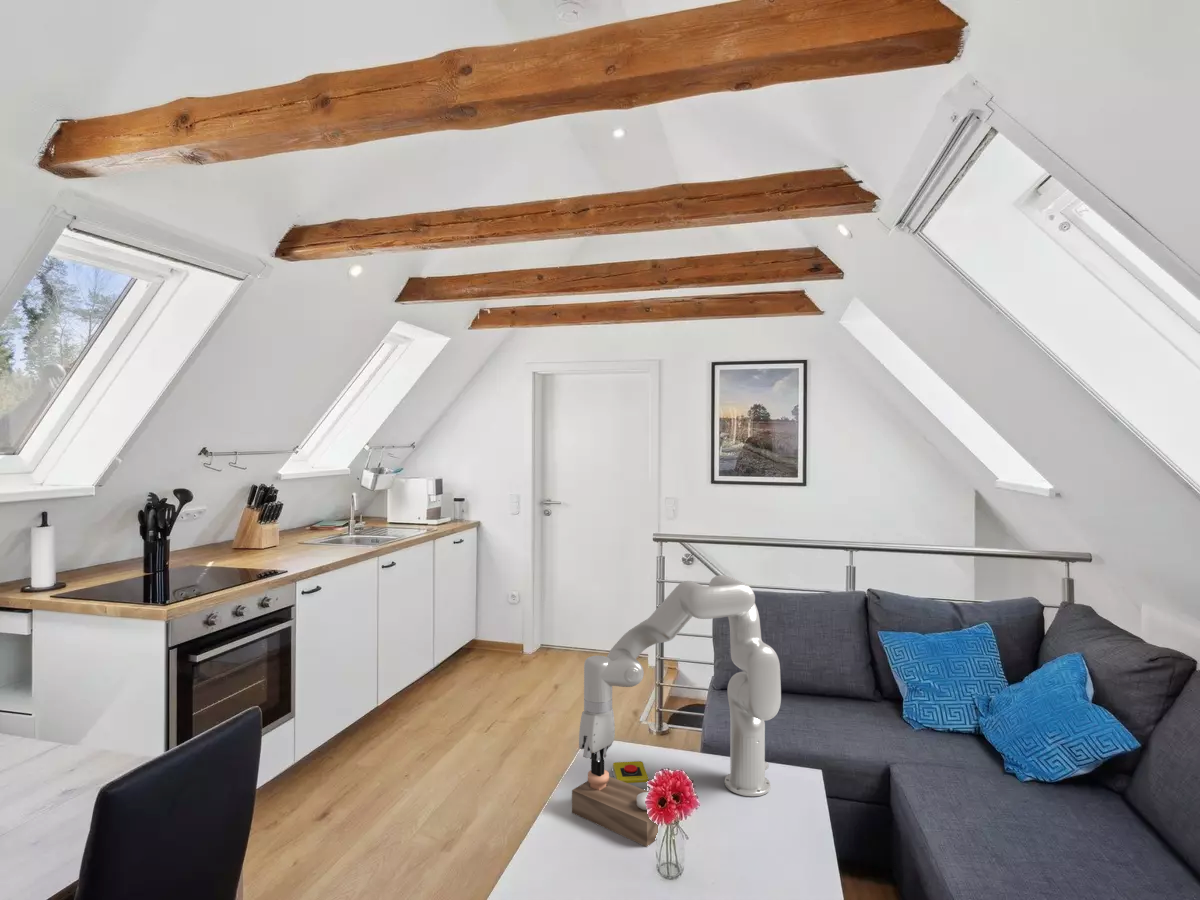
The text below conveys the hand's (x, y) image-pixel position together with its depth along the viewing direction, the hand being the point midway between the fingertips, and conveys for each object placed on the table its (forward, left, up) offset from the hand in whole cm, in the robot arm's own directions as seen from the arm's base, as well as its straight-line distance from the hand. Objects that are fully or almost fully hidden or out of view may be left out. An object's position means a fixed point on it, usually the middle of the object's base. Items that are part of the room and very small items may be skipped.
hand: (597, 773), depth 179 cm
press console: (0, +8, -9) cm, 12 cm away
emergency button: (-18, -3, -10) cm, 21 cm away
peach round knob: (0, 0, -8) cm, 8 cm away
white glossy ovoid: (0, +16, -9) cm, 18 cm away
